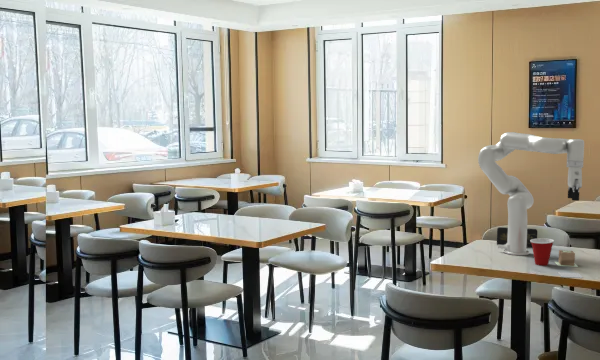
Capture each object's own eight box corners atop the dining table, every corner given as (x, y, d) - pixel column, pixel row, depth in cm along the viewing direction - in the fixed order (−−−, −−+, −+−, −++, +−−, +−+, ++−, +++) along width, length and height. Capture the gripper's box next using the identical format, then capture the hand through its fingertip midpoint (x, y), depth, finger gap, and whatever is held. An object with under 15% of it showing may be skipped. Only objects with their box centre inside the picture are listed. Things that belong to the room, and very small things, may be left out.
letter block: (574, 265, 309) (575, 252, 309) (560, 265, 311) (561, 252, 310) (572, 263, 315) (572, 250, 315) (558, 262, 316) (559, 249, 316)
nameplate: (536, 246, 358) (537, 228, 358) (536, 247, 357) (537, 229, 356) (496, 244, 363) (497, 227, 362) (496, 245, 361) (497, 227, 360)
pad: (558, 265, 309) (558, 265, 309) (554, 262, 318) (554, 261, 318) (578, 266, 308) (578, 266, 308) (574, 262, 316) (574, 262, 316)
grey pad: (561, 277, 286) (561, 276, 286) (557, 272, 295) (557, 272, 295) (583, 278, 285) (583, 277, 285) (578, 273, 294) (578, 273, 293)
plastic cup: (525, 262, 317) (526, 237, 316) (546, 261, 318) (547, 237, 317) (535, 267, 306) (536, 241, 305) (557, 266, 307) (558, 241, 306)
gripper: (587, 165, 310) (585, 201, 311) (579, 163, 327) (577, 197, 328) (570, 165, 311) (568, 201, 313) (563, 163, 328) (561, 197, 329)
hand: (573, 199), depth 320 cm, fingers open, 9 cm apart
